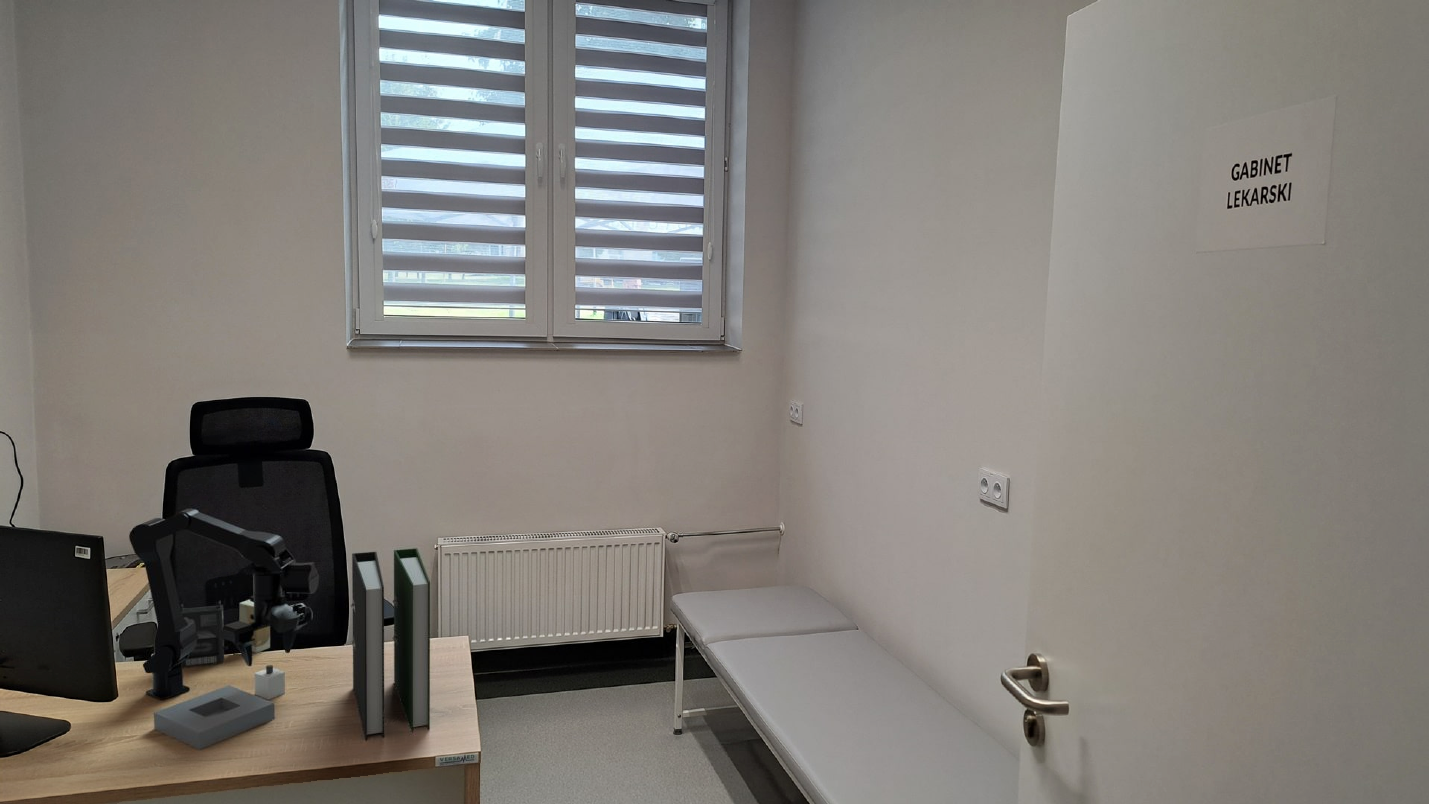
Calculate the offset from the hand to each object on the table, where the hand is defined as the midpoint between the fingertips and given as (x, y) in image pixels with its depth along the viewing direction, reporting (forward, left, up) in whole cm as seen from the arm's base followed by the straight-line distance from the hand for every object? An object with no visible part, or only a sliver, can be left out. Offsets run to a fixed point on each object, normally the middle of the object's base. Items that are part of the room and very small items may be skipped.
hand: (268, 659), depth 198 cm
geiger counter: (-29, +2, -8) cm, 30 cm away
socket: (+4, -15, -8) cm, 17 cm away
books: (+28, +10, -8) cm, 31 cm away
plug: (0, 0, -8) cm, 8 cm away
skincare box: (-27, +14, -8) cm, 32 cm away
